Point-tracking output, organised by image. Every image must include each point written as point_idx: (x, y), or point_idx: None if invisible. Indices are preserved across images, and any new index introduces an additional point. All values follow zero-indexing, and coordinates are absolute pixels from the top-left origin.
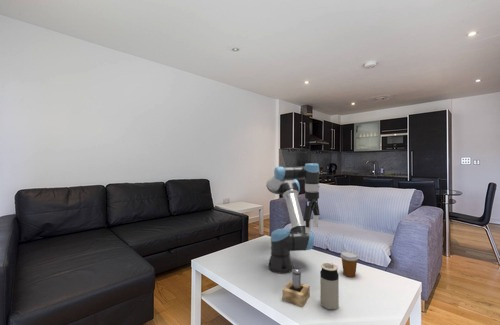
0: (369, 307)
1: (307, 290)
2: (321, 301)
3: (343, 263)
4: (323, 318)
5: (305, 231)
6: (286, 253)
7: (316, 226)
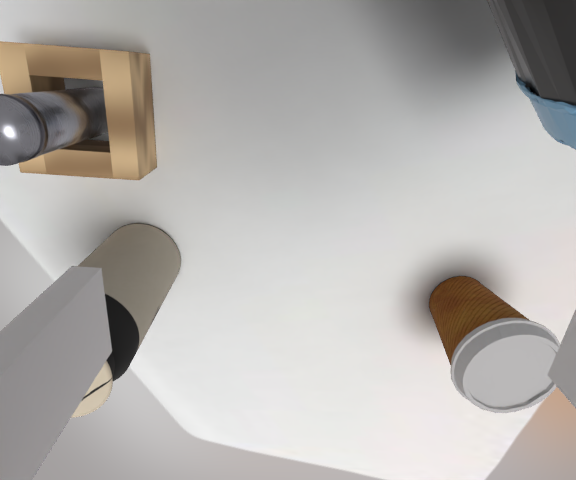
0: (214, 375)
1: (100, 176)
2: (108, 237)
3: (463, 314)
4: (41, 251)
5: (54, 282)
6: None
7: (565, 360)
